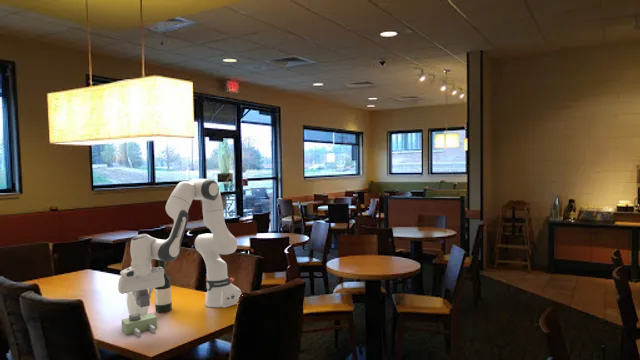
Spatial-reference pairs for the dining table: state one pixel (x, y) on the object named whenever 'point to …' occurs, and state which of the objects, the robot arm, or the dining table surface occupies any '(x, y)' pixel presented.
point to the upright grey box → (143, 298)
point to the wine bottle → (163, 293)
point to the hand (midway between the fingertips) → (142, 299)
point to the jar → (135, 306)
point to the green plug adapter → (139, 323)
